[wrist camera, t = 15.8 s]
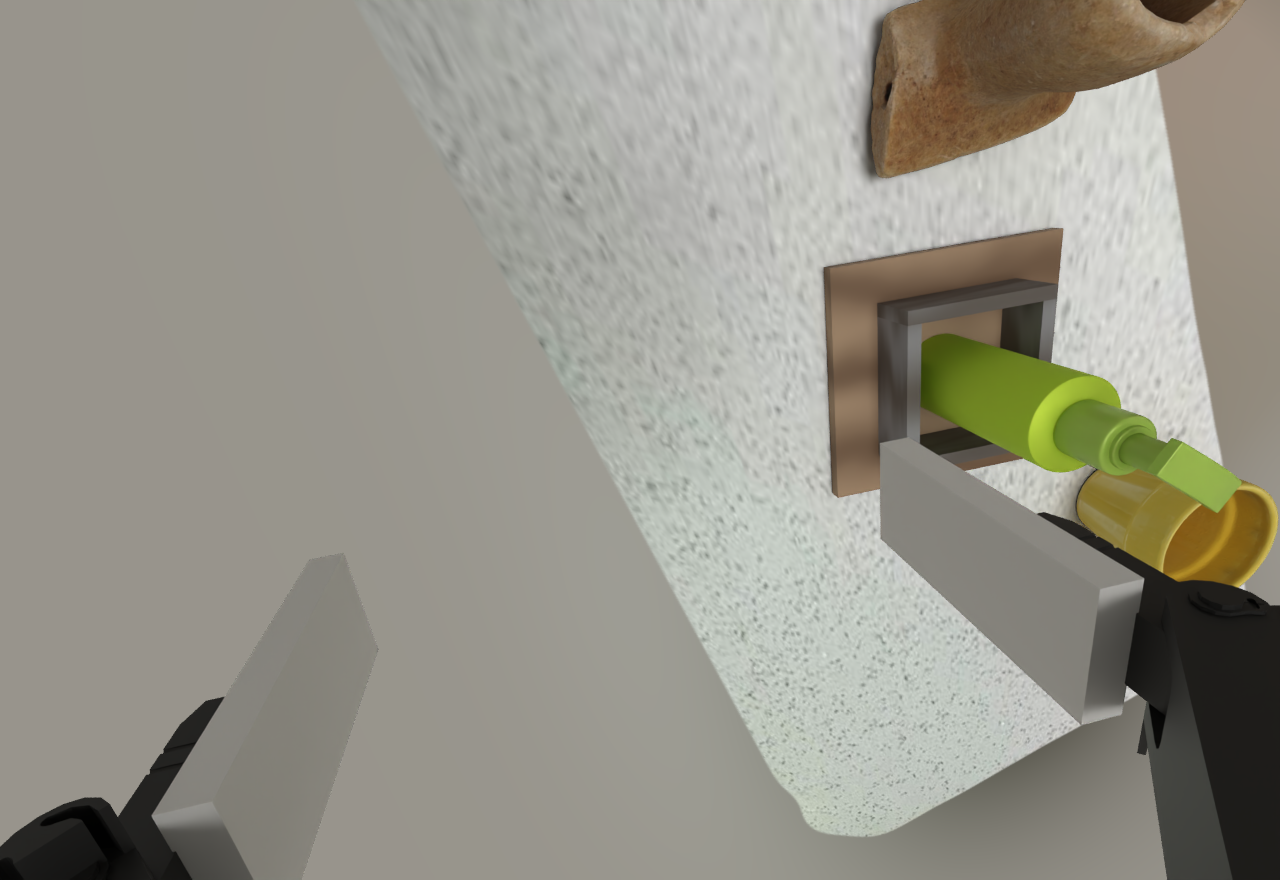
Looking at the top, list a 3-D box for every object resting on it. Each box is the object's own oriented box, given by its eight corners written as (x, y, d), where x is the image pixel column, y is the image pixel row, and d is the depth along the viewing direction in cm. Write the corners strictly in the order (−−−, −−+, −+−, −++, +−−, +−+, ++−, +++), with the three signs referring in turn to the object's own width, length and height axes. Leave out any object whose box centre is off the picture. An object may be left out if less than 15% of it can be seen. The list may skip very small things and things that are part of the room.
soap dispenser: (954, 425, 51) (1200, 551, 32) (888, 388, 49) (1112, 500, 30) (998, 360, 49) (1282, 451, 31) (932, 319, 47) (1194, 391, 29)
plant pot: (1182, 476, 58) (1305, 526, 49) (1101, 564, 60) (1205, 627, 51) (1118, 418, 54) (1237, 459, 45) (1034, 512, 56) (1132, 570, 47)
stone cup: (1061, -77, 41) (1338, -225, 27) (1064, 124, 45) (1303, 86, 31) (839, -16, 40) (1007, -136, 26) (864, 183, 44) (1019, 171, 30)
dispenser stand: (823, 267, 46) (857, 274, 41) (1052, 228, 48) (1109, 230, 43) (832, 492, 52) (862, 520, 48) (1033, 450, 54) (1081, 472, 49)
